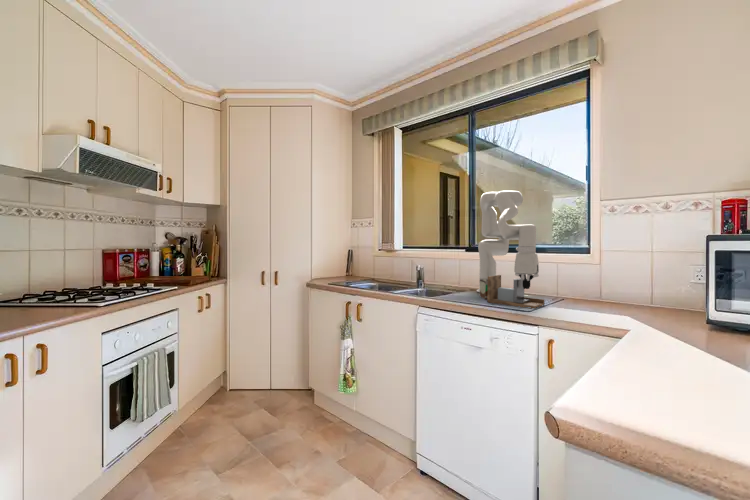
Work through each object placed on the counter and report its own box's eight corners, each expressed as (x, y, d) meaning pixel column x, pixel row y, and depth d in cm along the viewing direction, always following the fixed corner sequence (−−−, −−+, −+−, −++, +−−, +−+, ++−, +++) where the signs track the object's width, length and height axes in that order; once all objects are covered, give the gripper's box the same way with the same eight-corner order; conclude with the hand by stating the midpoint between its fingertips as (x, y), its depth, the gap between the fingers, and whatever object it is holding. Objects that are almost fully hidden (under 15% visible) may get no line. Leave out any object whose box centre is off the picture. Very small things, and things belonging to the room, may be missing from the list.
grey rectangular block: (501, 298, 179) (501, 287, 178) (519, 301, 172) (519, 289, 172) (497, 299, 176) (498, 287, 176) (515, 302, 169) (515, 289, 169)
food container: (497, 299, 183) (497, 280, 183) (485, 299, 183) (486, 280, 183) (490, 296, 195) (490, 278, 195) (479, 296, 195) (479, 278, 195)
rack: (498, 299, 184) (499, 274, 183) (544, 305, 167) (544, 278, 167) (487, 302, 175) (487, 276, 175) (534, 308, 159) (534, 280, 159)
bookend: (520, 300, 174) (521, 278, 173) (530, 301, 170) (530, 278, 170) (513, 302, 168) (513, 279, 167) (522, 303, 164) (523, 280, 164)
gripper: (508, 250, 170) (507, 287, 170) (540, 250, 159) (539, 291, 159) (514, 250, 175) (514, 286, 175) (546, 250, 164) (545, 289, 165)
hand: (526, 288), depth 167 cm, fingers closed
